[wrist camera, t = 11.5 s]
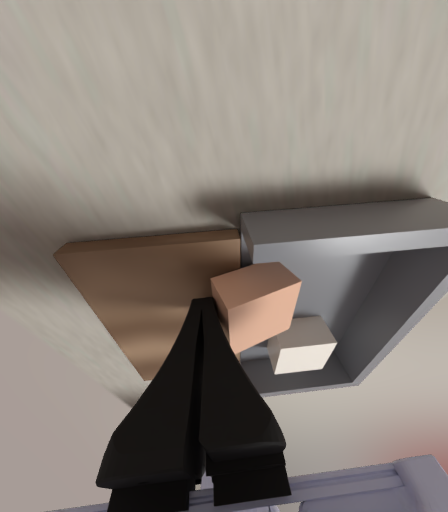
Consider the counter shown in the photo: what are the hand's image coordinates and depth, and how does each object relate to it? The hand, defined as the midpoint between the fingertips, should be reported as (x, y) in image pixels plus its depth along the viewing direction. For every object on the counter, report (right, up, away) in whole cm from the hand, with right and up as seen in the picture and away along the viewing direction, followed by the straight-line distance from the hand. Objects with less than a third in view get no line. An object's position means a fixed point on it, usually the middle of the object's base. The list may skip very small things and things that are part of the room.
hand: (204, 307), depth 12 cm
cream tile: (+8, -4, +6) cm, 10 cm away
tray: (+8, -1, +4) cm, 9 cm away
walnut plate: (-2, -2, +4) cm, 5 cm away
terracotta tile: (+3, +1, +1) cm, 3 cm away
